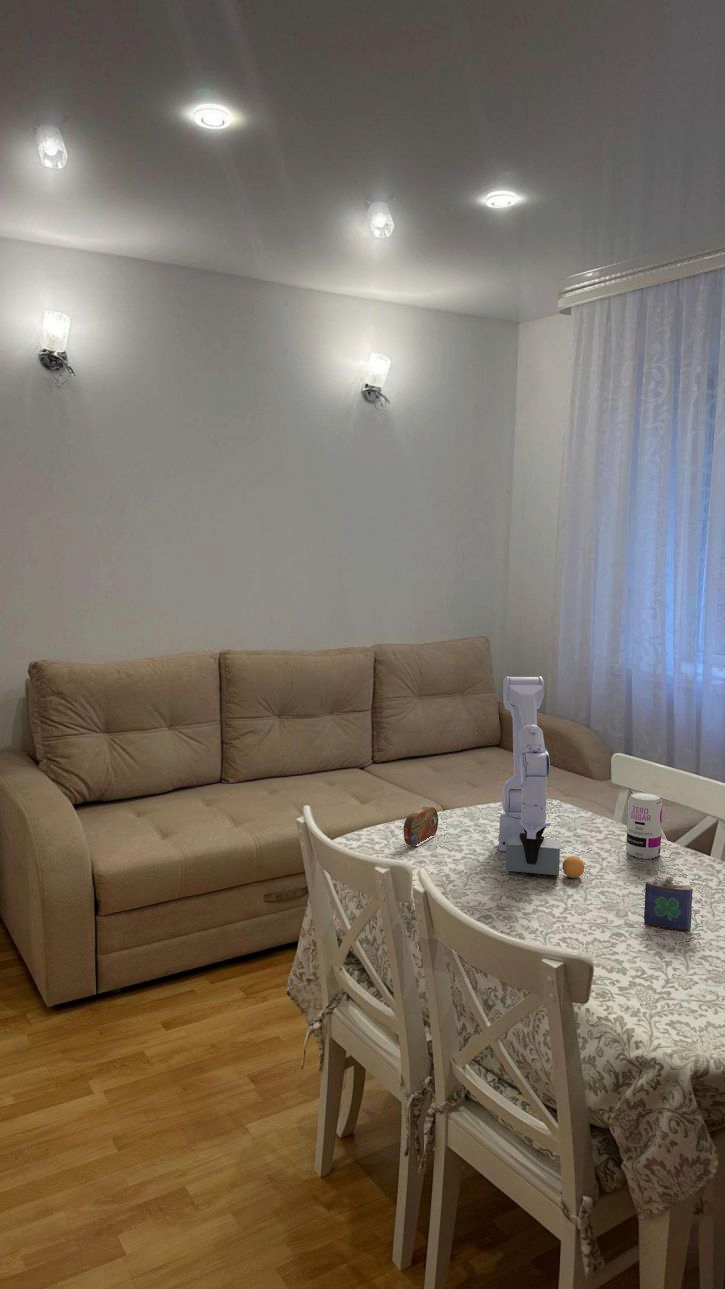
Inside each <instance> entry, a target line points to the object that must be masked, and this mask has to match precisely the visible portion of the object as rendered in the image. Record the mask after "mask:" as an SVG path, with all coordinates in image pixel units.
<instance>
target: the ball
mask: <svg viewBox="0 0 725 1289" xmlns="http://www.w3.org/2000/svg"><path fill="white" fill-rule="evenodd" d="M562 871H563V873H564V874H565V875H566V876H567V877H569V878H572V879H576V878H579V877H581V876H582V875H583V874H584V871H585V863H584V861H583V860H582V859H581V858H580V857H579V856H575V855H571V856H567V857H566V858H565V859H564V860H563V861H562Z"/></svg>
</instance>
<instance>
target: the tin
mask: <svg viewBox="0 0 725 1289" xmlns="http://www.w3.org/2000/svg"><path fill="white" fill-rule="evenodd" d="M438 827H439V814H438V812H437V809H436V807H435V808H434V807H431V806H430V807H428V806H423V807H421V808H419V809H417V810H416V811H414V812H413V813H411V814H409V815H408V816H406V818H405V820H404V823H403V838H404V840H403V841H404V842H405V844H406V845H407V846H409V845H411V846H410V847H415V846H416V845H417V844H419V843H420V842H422V841H424V840H426V839H427V838H429V837H430V836H434V835H435V836H436V833H437V831H438ZM435 836H434V837H435Z"/></svg>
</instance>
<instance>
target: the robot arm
mask: <svg viewBox="0 0 725 1289" xmlns="http://www.w3.org/2000/svg"><path fill="white" fill-rule="evenodd" d="M502 682H503V683H502V684H503V685H502V692H503V694H502V698H503V700H502V702H503V706H504V709H505V710H508V711H509V712H510V714H511V718H512V743H513V744H512V749H513V750H512V751H513V754H512V756H513V758H512V760H513V775H512V776H511V777H510V778H509V779H508V778H507V779H506V780H505V782H504V784H503V785H502V786H503V787H502V795H501V796H502V798H501V799H502V800H501V801H502V802H501V803H502V810H503V812H501V813H500V816H499V831H498V833H499V834H498V840H497V841H498V851H499V852H506V844H507V840H508V836H519V837H520V840H521V842H522V844H523V847H524V851H525V857H526V862H527V864H536V862H537V858H538V853H539V849H540V846H541V844H542V842H543V840H544V839H545V836H544V835H543V834H544V831H545V829H547V828H546V827H550V826H551V823H552V821H550V820H547V819H546V818H547V786H548V784H547V783H548V782H547V780H548V778H549V776H550V772H551V760H550V755H549V752H548V749H547V748H546V746H545V737H544V731H543V729H542V728H540V727H539V726H538V712H537V710H539V709H540V707H541V705H542V703H543V699H544V696H545V681H544V679H543V677H542V676H505V678H503V681H502Z"/></svg>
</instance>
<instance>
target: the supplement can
mask: <svg viewBox="0 0 725 1289" xmlns="http://www.w3.org/2000/svg"><path fill="white" fill-rule="evenodd" d="M626 817H627V819H626V820H627V821H626V822H627V823H626V840H625V842H626V845H625V847H626V848H625V850H626V852H627V853H628V855H630V854H631V855H632V857H633V856H635V857H634V858H636V857H637V858H636V859H641V858H643V859H644V860H652V858H653V859H656V858H658V856H660V854H661V846H662V845H661V844H662V826H663V825H662V824H663V802H662V799H661V796H660V795H658V794H656V793H652V792H646V791H645V792H644V791H642V792H641V791H640V792H638V791H636V792H632V793H631V794H630V797H629V798H628V801H627V815H626ZM631 855H630V856H631ZM655 857H656V858H655ZM643 859H642V860H643Z"/></svg>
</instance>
